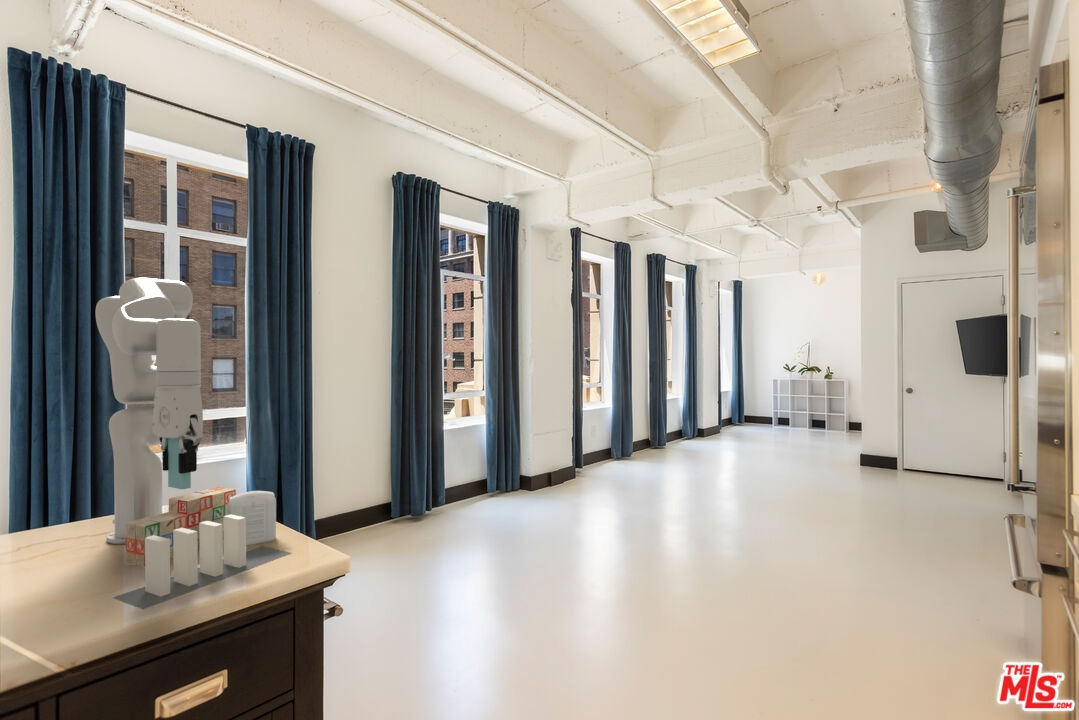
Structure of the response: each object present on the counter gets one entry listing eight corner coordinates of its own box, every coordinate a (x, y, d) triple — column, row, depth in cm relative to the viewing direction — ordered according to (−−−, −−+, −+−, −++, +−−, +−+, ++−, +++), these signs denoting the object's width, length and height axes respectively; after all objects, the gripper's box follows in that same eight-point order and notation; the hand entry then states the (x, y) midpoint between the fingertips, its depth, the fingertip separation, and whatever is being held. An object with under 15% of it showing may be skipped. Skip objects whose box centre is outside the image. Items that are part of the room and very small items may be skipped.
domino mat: (112, 600, 99) (112, 597, 99) (262, 548, 126) (262, 545, 126) (143, 612, 94) (143, 609, 94) (292, 555, 121) (292, 552, 121)
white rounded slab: (274, 537, 133) (274, 486, 133) (277, 542, 130) (277, 490, 130) (226, 545, 128) (226, 492, 128) (227, 550, 124) (227, 496, 124)
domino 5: (223, 563, 115) (223, 516, 115) (230, 561, 116) (230, 514, 116) (238, 567, 112) (238, 519, 112) (246, 565, 114) (245, 517, 114)
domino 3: (173, 581, 106) (173, 529, 106) (182, 578, 107) (181, 527, 107) (189, 586, 104) (188, 533, 103) (197, 583, 105) (197, 531, 105)
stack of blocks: (144, 571, 113) (143, 511, 113) (125, 566, 115) (124, 508, 115) (236, 538, 133) (236, 488, 132) (218, 535, 135) (218, 486, 135)
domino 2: (168, 486, 110) (167, 437, 110) (176, 484, 112) (176, 436, 111) (182, 489, 108) (181, 439, 108) (190, 487, 109) (190, 437, 109)
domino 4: (199, 572, 110) (199, 522, 110) (207, 569, 112) (207, 520, 112) (215, 576, 108) (214, 526, 108) (222, 573, 109) (222, 524, 109)
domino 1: (145, 591, 101) (144, 537, 101) (154, 587, 103) (154, 535, 103) (160, 596, 99) (160, 541, 99) (170, 593, 101) (169, 539, 100)
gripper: (135, 380, 110) (136, 470, 110) (183, 382, 102) (184, 479, 102) (175, 379, 117) (175, 463, 117) (222, 380, 109) (223, 471, 109)
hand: (179, 469), depth 110 cm, fingers closed on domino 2, 4 cm apart
